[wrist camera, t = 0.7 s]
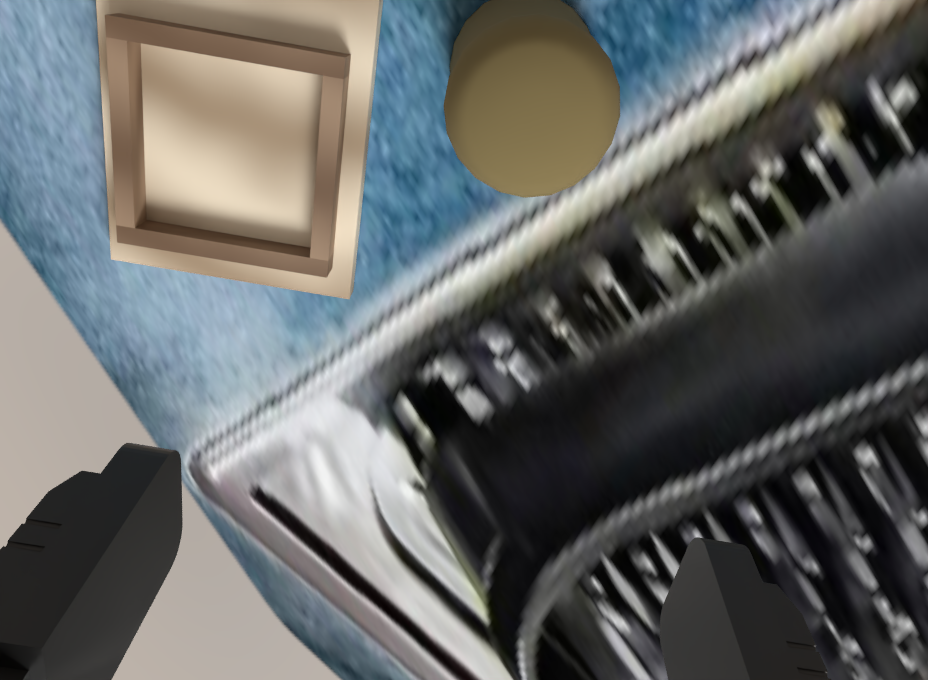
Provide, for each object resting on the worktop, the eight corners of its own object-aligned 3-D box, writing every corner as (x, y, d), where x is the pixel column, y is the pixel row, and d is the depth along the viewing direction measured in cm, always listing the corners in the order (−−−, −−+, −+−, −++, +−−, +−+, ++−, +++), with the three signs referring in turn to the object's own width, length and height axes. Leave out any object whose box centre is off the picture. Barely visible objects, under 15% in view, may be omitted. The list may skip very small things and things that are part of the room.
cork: (559, 166, 32) (586, 253, 22) (429, 114, 31) (395, 179, 21) (622, 25, 29) (684, 53, 19) (481, -36, 28) (471, -40, 19)
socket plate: (100, -149, 27) (40, -168, 24) (392, -95, 28) (376, -105, 24) (121, 251, 35) (77, 284, 31) (353, 290, 35) (336, 327, 31)
